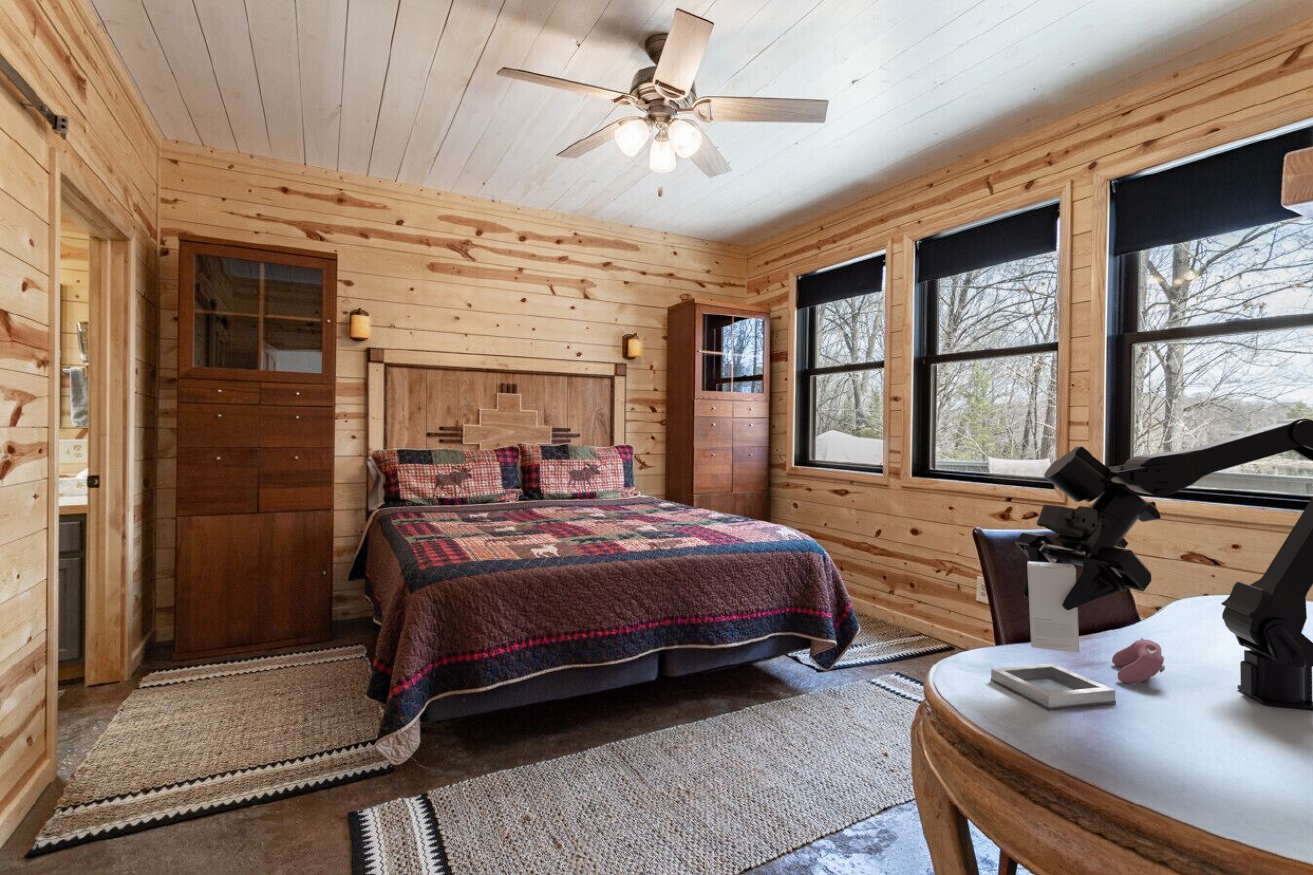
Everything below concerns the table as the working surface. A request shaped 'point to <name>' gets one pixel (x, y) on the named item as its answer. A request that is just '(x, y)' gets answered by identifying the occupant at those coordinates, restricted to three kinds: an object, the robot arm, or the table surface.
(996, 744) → the table surface
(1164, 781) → the table surface
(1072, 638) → the skincare box
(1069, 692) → the collar
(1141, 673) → the video game controller
